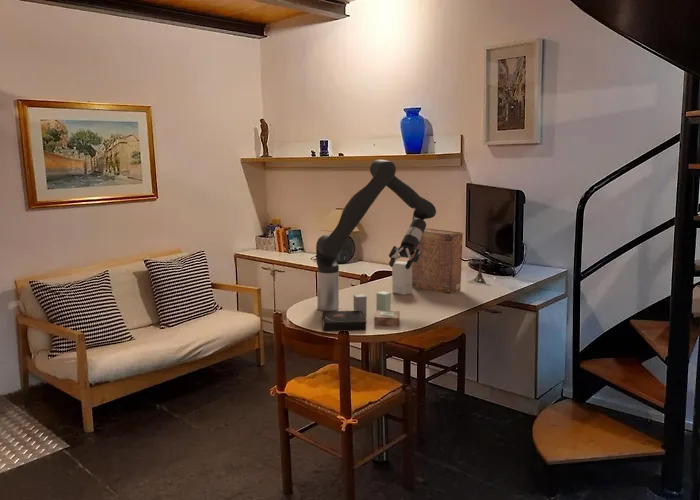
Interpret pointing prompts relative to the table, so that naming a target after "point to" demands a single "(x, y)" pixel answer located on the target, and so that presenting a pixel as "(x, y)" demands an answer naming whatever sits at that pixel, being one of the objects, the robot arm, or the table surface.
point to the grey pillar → (360, 303)
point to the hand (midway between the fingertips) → (398, 267)
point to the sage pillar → (383, 301)
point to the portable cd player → (343, 320)
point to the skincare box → (401, 278)
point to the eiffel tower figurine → (478, 277)
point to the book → (438, 261)
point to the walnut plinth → (386, 318)
